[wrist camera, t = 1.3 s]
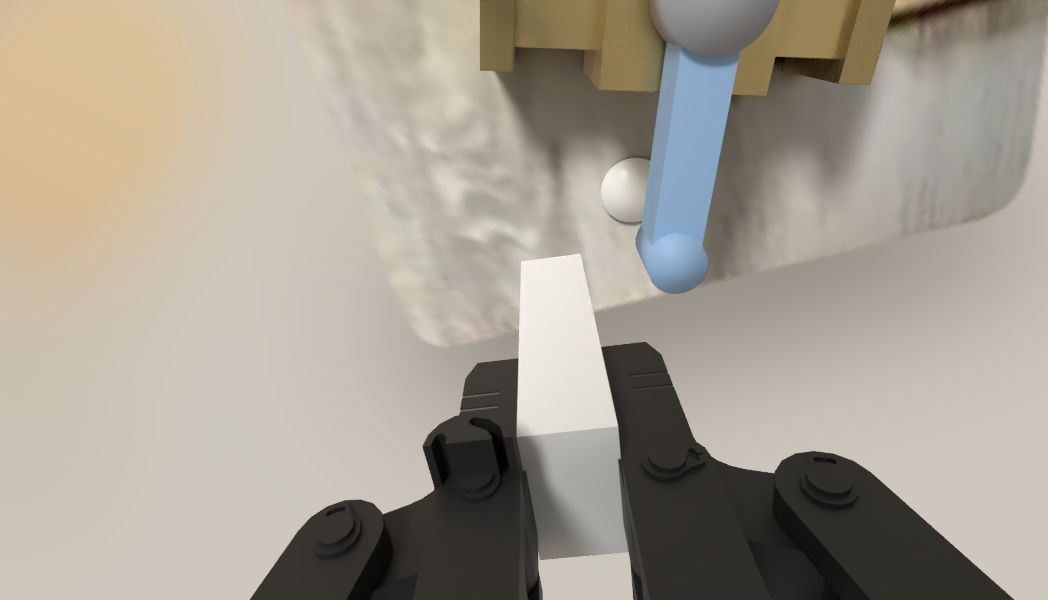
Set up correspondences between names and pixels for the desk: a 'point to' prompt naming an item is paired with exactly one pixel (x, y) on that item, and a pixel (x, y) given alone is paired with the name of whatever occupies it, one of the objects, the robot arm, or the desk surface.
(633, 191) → the white domed disc
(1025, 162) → the desk surface
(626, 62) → the valve body
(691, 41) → the lever
